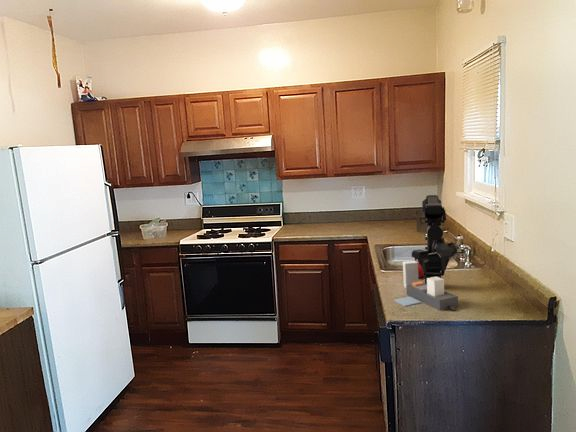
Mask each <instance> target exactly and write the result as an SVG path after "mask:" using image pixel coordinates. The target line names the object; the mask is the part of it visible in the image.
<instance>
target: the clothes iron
mask: <svg viewBox="0 0 576 432" xmlns="http://www.w3.org/2000/svg"><path fill="white" fill-rule="evenodd" d="M411 216H412V220H416V232H417V233H426V234H427V223H425V222H423V221H422V219H424V214H420V215H418V214H416V213H412V215H411Z"/></svg>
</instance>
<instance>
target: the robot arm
mask: <svg viewBox="0 0 576 432" xmlns="http://www.w3.org/2000/svg"><path fill="white" fill-rule="evenodd" d="M421 206H422V207H421V208H422V209H421V211H422V212H421V213H422V214H423V215H424V218H423V219H424V220H423V221H424V222H423V223H427V233H426V236H425V237H424V240H426V245H427V246H425V247H424V248H425V249H413V250H412V251H411V258H414V260H415V259H417V261H418V263H419V264H420V266H421V268H422V270H423V272H424V277H425V278H424V283H426V284H427V278H431V277H439V278H442V277H443V276H445V272H446V270H447V267H448V263H449V262H450V260H451V258H452V257H455V255H456V254H458V248H457V247H456V244H455V242H447V243H445V238H444V237H443V235H444V231H443V228H442V226H443V225H442V224H443V223H444V224H445V223H446V221H447V215H446V214H447V213H446V209H445V207H443V205H442V200H441V199H439V195H437V194H429V195H426V196H425V199H423V200H422V202H421Z"/></svg>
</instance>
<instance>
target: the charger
mask: <svg viewBox="0 0 576 432" xmlns="http://www.w3.org/2000/svg"><path fill="white" fill-rule="evenodd" d="M444 291H445V279H444V278H442V277H441V278H439V277H431V278H427V294H429V295H432V296H434V297H435V296H439V295H444Z"/></svg>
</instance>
